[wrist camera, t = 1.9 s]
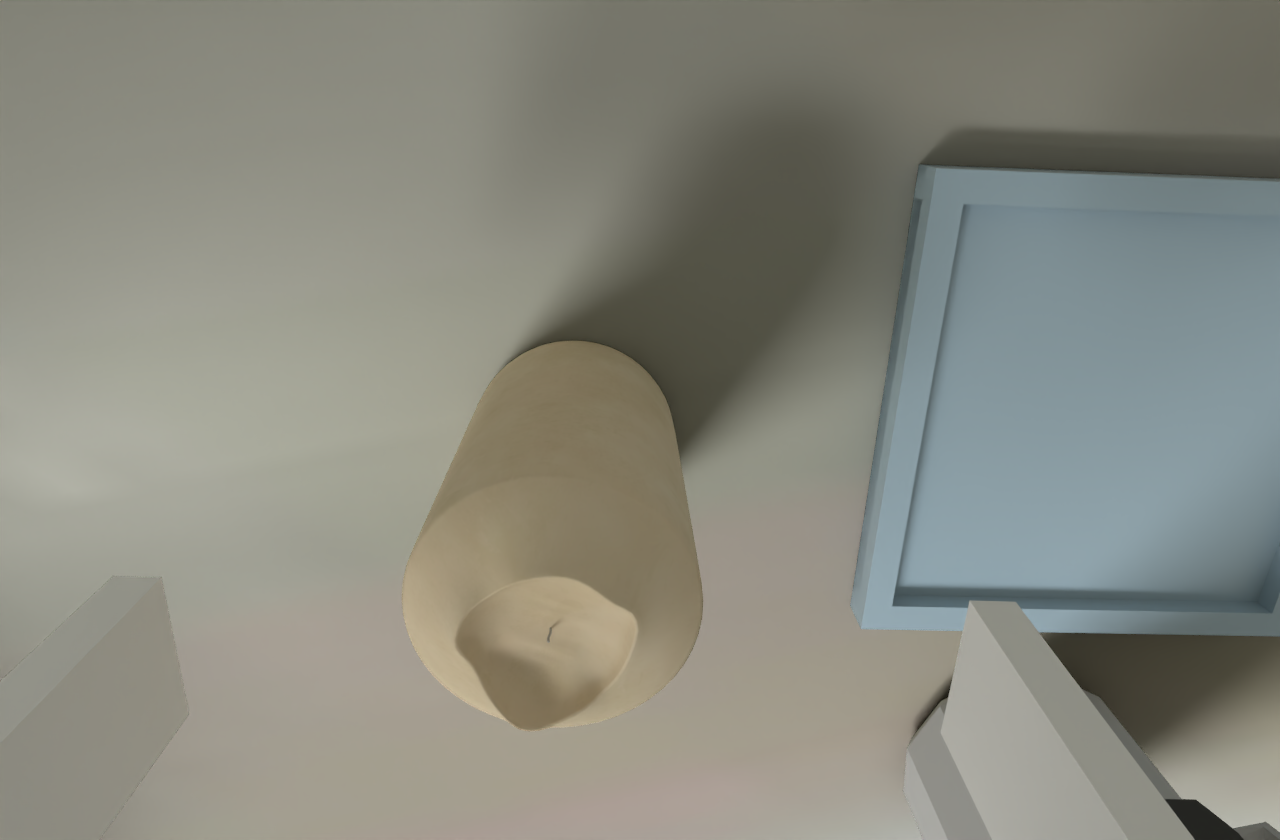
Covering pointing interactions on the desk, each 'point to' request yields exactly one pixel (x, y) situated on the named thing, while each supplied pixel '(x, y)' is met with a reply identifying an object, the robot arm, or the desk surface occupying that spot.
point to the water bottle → (948, 806)
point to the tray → (1081, 406)
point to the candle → (559, 546)
